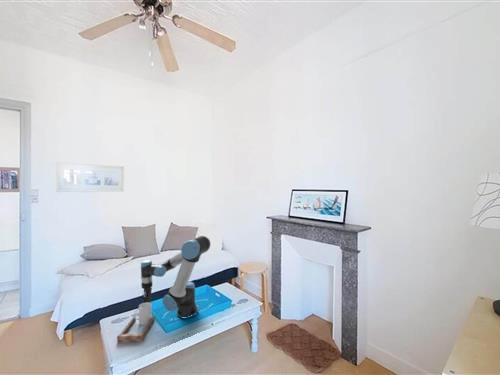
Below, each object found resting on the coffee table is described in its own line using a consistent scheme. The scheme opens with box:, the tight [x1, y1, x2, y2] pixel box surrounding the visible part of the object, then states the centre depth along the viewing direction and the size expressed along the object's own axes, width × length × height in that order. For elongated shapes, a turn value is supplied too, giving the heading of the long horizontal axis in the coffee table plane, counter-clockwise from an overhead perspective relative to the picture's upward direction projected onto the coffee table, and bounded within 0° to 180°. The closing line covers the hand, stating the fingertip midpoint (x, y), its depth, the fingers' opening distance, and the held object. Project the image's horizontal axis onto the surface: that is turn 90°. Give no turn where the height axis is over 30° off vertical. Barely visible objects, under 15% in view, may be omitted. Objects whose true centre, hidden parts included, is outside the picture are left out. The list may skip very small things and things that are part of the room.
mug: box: [133, 302, 153, 326], centre depth 179 cm, size 12×8×12 cm
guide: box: [116, 315, 156, 344], centre depth 169 cm, size 15×24×4 cm, turn 2°
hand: (147, 312), depth 189 cm, fingers closed
